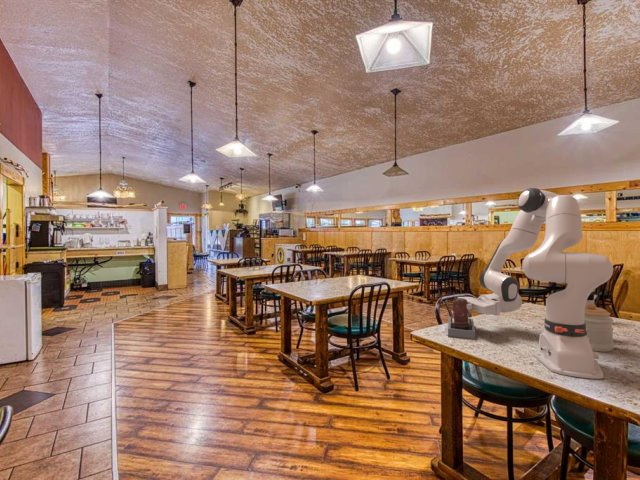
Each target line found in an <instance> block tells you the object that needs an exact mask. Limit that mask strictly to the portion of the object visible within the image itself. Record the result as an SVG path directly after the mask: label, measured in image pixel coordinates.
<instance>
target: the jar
mask: <svg viewBox="0 0 640 480" xmlns="http://www.w3.org/2000/svg"><path fill="white" fill-rule="evenodd" d="M610 315H611V312H609V311H607V310H606V309H604V308H603V307H602V308H601V307H597V306H596V304H595V302H594V303H589V304H588V305H587V306H585V315H584V323H585V324H586V328H587V335H586V336H587V337H588V338H589V342H590V345H594V349H592V351H594V352H604V353H605V352H607V353H608V352H611V351H613V349H614V343H613V342H614V341H613V339H614V338H613V337H614V335H613V333H614V327H613V325H612V323H613V322H614V319H613V318H612V317H610Z"/></svg>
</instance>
